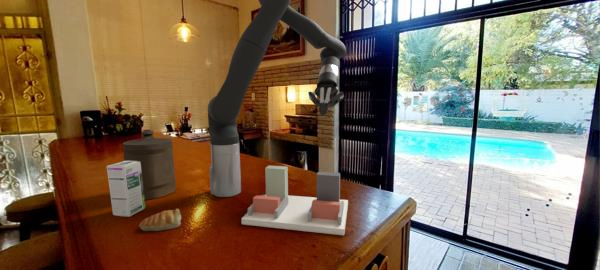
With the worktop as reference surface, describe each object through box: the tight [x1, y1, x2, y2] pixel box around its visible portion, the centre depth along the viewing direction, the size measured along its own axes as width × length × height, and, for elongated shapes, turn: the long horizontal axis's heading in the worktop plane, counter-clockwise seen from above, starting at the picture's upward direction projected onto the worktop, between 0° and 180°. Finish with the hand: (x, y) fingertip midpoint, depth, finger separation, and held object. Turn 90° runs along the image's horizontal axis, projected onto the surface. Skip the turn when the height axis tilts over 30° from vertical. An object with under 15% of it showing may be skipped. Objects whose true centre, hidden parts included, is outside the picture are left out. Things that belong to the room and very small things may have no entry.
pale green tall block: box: [264, 165, 289, 202], centre depth 77 cm, size 6×3×10 cm, turn 77°
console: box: [241, 194, 349, 236], centre depth 71 cm, size 26×18×6 cm
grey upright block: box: [316, 171, 341, 202], centre depth 70 cm, size 6×3×10 cm, turn 77°
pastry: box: [138, 208, 182, 232], centre depth 66 cm, size 9×7×4 cm
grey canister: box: [122, 129, 177, 201], centre depth 88 cm, size 15×15×22 cm
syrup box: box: [106, 160, 147, 218], centre depth 73 cm, size 6×6×14 cm
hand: (322, 113), depth 85 cm, fingers closed
